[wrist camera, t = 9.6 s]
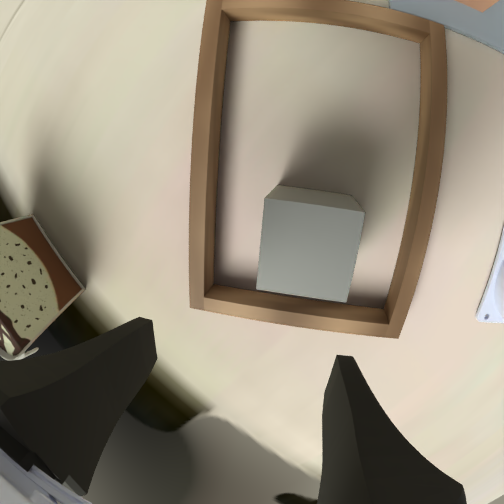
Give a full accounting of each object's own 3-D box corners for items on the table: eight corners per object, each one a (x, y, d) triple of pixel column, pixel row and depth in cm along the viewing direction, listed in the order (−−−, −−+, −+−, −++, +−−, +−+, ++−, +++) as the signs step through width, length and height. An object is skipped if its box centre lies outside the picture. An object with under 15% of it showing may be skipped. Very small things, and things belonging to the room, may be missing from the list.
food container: (12, 240, 25) (-55, 273, 15) (26, 203, 22) (-54, 233, 13) (73, 328, 26) (12, 382, 17) (95, 301, 24) (22, 363, 15)
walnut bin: (433, 35, 12) (444, 25, 10) (392, 322, 19) (398, 338, 17) (217, 10, 14) (207, -2, 12) (200, 294, 21) (189, 307, 19)
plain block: (351, 195, 17) (365, 212, 12) (339, 264, 18) (346, 302, 14) (277, 184, 18) (264, 198, 13) (270, 254, 19) (256, 289, 15)
